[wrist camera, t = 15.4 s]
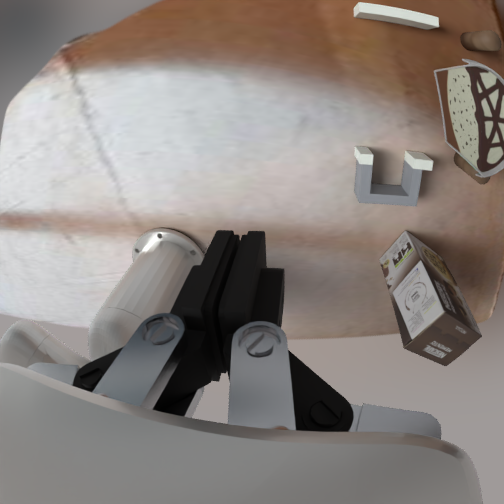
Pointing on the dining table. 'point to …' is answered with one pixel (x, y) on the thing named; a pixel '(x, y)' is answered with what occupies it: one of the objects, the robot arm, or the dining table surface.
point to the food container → (473, 114)
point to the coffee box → (427, 302)
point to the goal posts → (484, 43)
